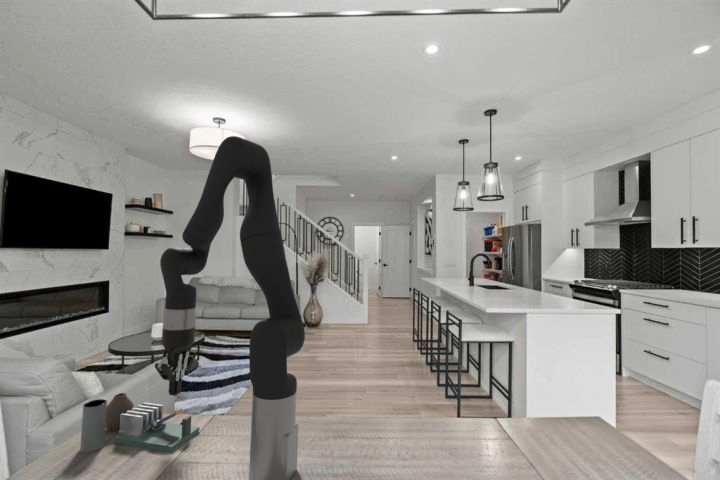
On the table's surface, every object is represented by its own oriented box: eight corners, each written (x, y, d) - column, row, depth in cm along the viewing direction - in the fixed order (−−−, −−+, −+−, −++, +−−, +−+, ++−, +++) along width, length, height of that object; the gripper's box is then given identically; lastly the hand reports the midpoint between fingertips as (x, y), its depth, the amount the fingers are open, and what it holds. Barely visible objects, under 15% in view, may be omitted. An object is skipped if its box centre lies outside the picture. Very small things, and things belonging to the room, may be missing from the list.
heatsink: (169, 424, 93) (170, 405, 94) (145, 439, 85) (146, 418, 86) (144, 421, 95) (145, 402, 95) (118, 435, 87) (119, 414, 87)
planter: (76, 453, 81) (79, 407, 81) (85, 443, 85) (88, 399, 86) (99, 451, 82) (102, 406, 83) (107, 441, 86) (110, 398, 87)
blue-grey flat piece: (184, 411, 91) (182, 406, 91) (175, 416, 88) (173, 412, 88) (162, 422, 92) (160, 418, 92) (152, 428, 89) (151, 424, 89)
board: (199, 431, 93) (199, 426, 93) (170, 452, 82) (170, 446, 82) (146, 424, 96) (147, 418, 96) (112, 443, 86) (113, 437, 86)
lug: (190, 432, 90) (191, 416, 90) (185, 436, 88) (186, 419, 88) (185, 431, 90) (186, 415, 90) (179, 435, 88) (180, 418, 88)
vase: (117, 436, 89) (120, 401, 89) (95, 433, 90) (97, 398, 91) (140, 424, 95) (142, 391, 96) (118, 421, 97) (120, 388, 97)
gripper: (173, 332, 84) (168, 406, 83) (208, 322, 97) (204, 386, 96) (146, 329, 85) (141, 402, 84) (184, 320, 98) (179, 383, 97)
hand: (174, 394), depth 90 cm, fingers closed
